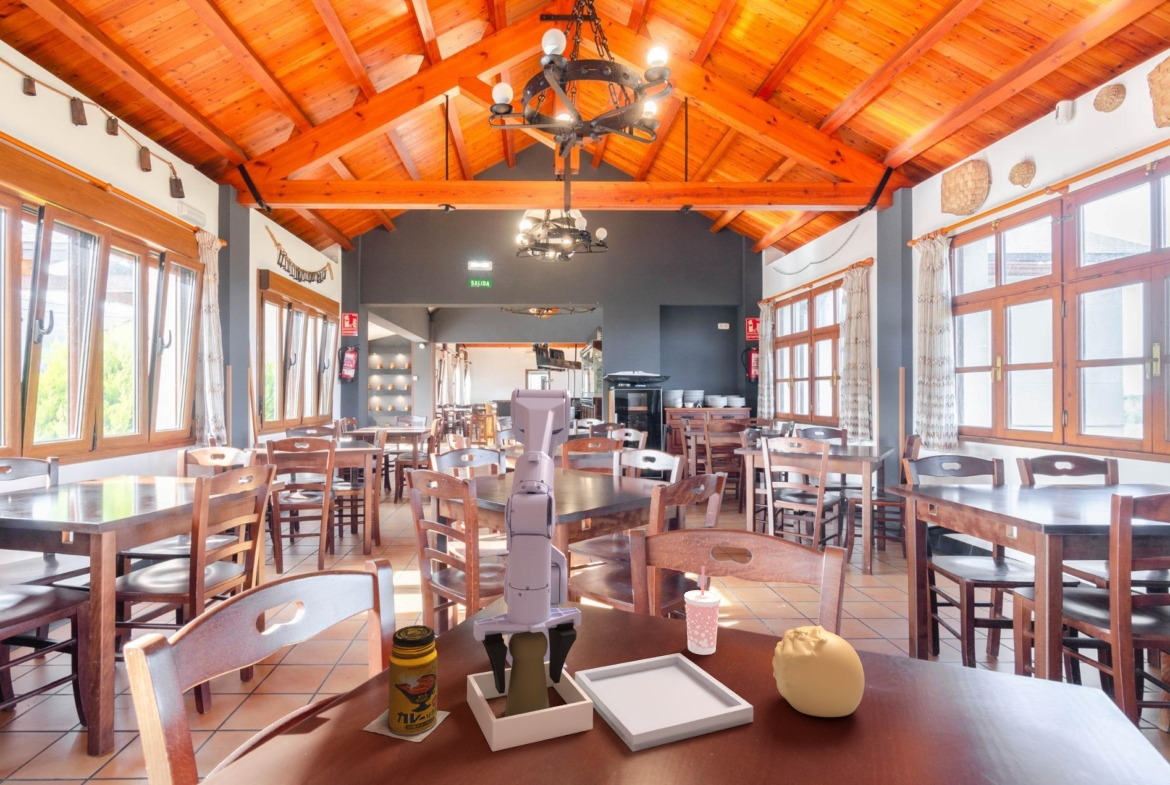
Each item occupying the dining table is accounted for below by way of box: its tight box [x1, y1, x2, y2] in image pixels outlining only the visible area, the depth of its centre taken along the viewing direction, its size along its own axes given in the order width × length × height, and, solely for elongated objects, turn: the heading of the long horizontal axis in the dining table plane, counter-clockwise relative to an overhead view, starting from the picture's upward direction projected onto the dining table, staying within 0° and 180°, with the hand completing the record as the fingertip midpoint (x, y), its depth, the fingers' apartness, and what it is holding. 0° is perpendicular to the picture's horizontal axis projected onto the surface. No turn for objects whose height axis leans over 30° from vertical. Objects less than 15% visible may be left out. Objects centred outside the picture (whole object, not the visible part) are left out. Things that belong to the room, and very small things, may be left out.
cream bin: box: [466, 661, 594, 753], centre depth 83 cm, size 13×13×4 cm
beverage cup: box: [683, 565, 722, 656], centre depth 105 cm, size 6×6×14 cm
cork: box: [504, 631, 550, 717], centre depth 83 cm, size 6×6×11 cm
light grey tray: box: [574, 652, 754, 752], centre depth 87 cm, size 18×18×2 cm
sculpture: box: [772, 625, 866, 718], centre depth 87 cm, size 12×12×11 cm
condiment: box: [362, 624, 451, 743], centre depth 81 cm, size 7×8×12 cm
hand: (527, 684), depth 83 cm, fingers open, 7 cm apart
